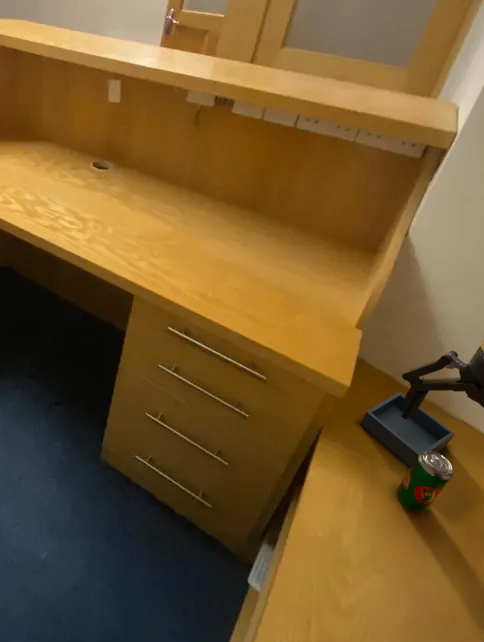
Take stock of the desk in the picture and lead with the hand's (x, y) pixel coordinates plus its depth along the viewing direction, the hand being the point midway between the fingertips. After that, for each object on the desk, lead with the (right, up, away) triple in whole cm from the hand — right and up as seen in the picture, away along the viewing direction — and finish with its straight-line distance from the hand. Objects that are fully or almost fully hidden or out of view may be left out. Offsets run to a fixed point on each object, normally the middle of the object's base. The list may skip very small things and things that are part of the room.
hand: (448, 447), depth 86 cm
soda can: (0, -14, +9) cm, 17 cm away
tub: (+7, -7, +20) cm, 22 cm away
